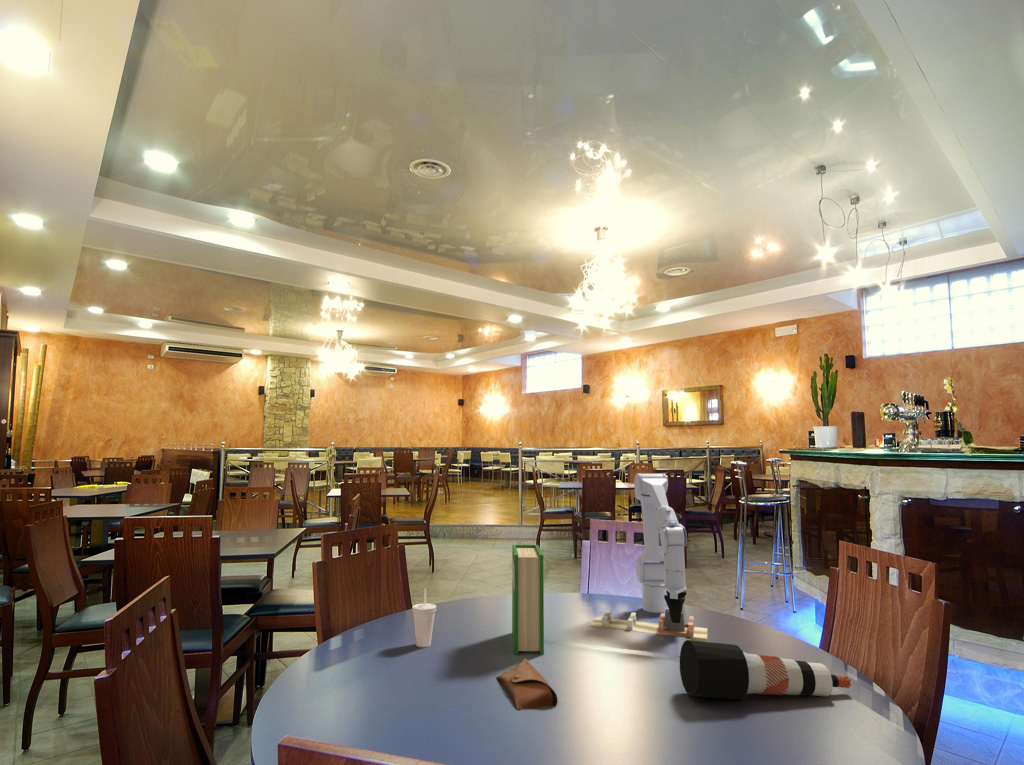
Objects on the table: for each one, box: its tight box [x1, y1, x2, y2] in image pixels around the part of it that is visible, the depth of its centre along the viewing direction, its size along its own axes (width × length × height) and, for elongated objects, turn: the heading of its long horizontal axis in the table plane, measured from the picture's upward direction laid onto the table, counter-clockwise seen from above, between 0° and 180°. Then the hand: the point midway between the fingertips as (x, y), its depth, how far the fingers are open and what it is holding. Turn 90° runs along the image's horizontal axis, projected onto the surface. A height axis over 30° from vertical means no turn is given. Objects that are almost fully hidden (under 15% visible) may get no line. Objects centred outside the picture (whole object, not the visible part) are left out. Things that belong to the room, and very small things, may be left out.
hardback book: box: [511, 544, 545, 656], centre depth 145 cm, size 18×7×24 cm, turn 2°
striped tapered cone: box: [679, 639, 852, 701], centre depth 112 cm, size 10×34×10 cm, turn 91°
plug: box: [664, 609, 686, 632], centre depth 152 cm, size 4×5×6 cm
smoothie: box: [411, 588, 437, 648], centre depth 143 cm, size 6×6×14 cm
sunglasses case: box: [495, 657, 559, 711], centre depth 114 cm, size 18×7×7 cm
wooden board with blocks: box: [588, 609, 708, 642], centre depth 154 cm, size 10×32×4 cm, turn 70°
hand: (676, 620), depth 152 cm, fingers open, 5 cm apart
